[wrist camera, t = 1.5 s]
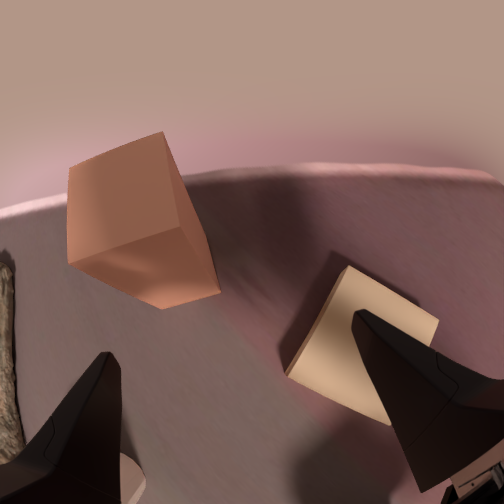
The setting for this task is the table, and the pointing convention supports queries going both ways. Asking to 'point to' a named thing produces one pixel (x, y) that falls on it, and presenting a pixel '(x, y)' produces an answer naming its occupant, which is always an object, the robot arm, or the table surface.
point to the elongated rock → (7, 374)
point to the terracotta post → (138, 225)
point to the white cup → (130, 480)
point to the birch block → (353, 342)
